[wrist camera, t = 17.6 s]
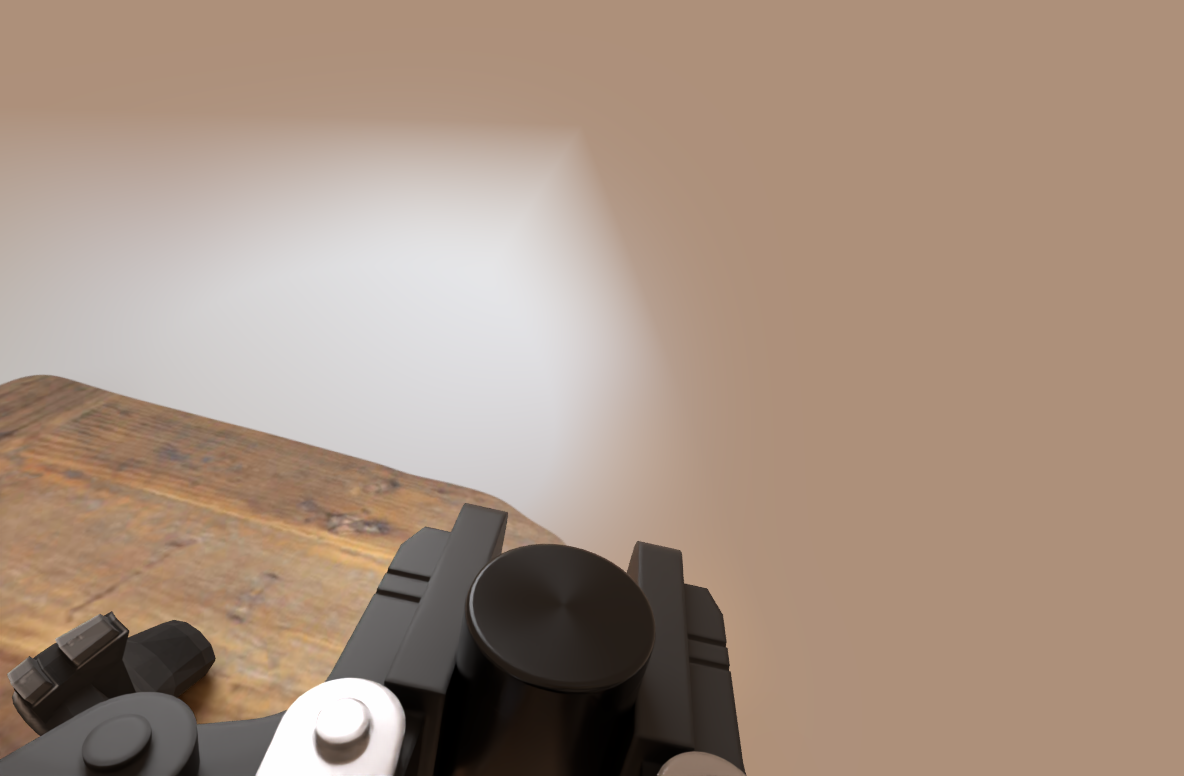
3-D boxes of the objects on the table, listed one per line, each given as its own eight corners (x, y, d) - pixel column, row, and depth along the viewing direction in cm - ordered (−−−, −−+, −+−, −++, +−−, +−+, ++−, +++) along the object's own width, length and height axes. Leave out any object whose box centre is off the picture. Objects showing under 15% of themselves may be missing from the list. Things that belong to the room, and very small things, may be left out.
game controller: (86, 735, 34) (-78, 672, 26) (201, 628, 37) (85, 545, 30) (269, 984, 27) (115, 994, 19) (391, 823, 30) (300, 778, 23)
